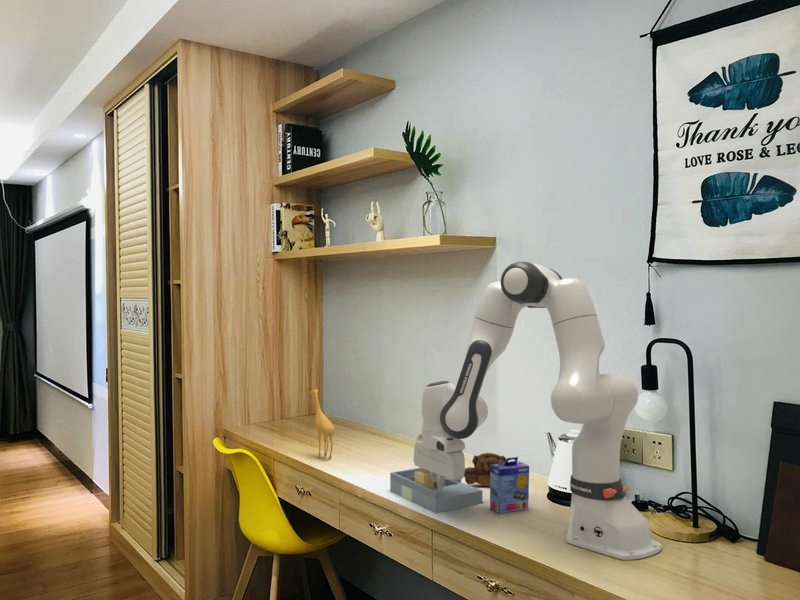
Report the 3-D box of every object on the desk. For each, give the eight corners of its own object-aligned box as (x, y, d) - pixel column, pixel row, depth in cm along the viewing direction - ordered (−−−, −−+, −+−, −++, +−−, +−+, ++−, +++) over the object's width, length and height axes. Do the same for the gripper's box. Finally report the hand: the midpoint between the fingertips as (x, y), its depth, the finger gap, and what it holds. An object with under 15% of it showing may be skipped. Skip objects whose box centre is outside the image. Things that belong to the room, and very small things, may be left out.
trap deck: (482, 502, 187) (482, 483, 187) (435, 512, 179) (435, 492, 179) (434, 482, 208) (434, 465, 208) (390, 490, 199) (390, 472, 199)
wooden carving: (464, 489, 200) (464, 456, 200) (460, 485, 205) (460, 453, 205) (516, 487, 203) (516, 454, 203) (512, 482, 207) (511, 451, 207)
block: (436, 489, 188) (436, 472, 188) (423, 492, 186) (423, 475, 186) (427, 485, 192) (427, 469, 192) (414, 488, 190) (414, 471, 190)
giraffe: (305, 454, 246) (305, 387, 246) (316, 452, 249) (315, 386, 249) (327, 463, 233) (326, 392, 233) (338, 461, 236) (337, 390, 235)
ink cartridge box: (499, 514, 177) (499, 460, 177) (488, 508, 182) (488, 455, 182) (530, 509, 181) (530, 456, 181) (519, 503, 186) (518, 452, 186)
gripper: (408, 433, 192) (408, 481, 193) (449, 447, 175) (449, 500, 175) (426, 431, 196) (426, 478, 196) (468, 444, 178) (468, 496, 178)
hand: (437, 488), depth 185 cm, fingers closed
